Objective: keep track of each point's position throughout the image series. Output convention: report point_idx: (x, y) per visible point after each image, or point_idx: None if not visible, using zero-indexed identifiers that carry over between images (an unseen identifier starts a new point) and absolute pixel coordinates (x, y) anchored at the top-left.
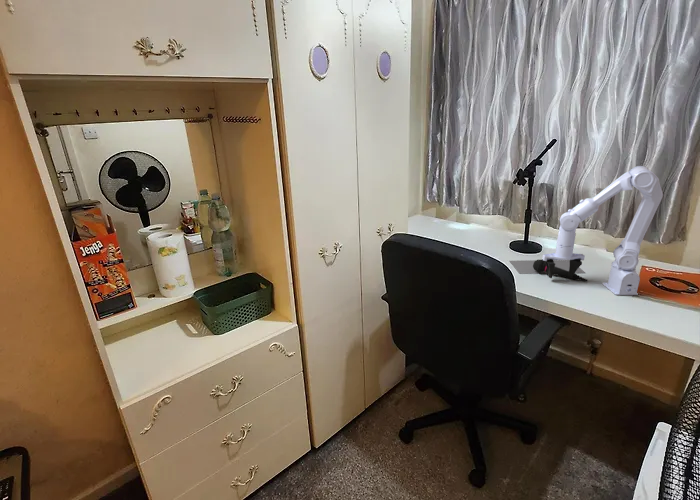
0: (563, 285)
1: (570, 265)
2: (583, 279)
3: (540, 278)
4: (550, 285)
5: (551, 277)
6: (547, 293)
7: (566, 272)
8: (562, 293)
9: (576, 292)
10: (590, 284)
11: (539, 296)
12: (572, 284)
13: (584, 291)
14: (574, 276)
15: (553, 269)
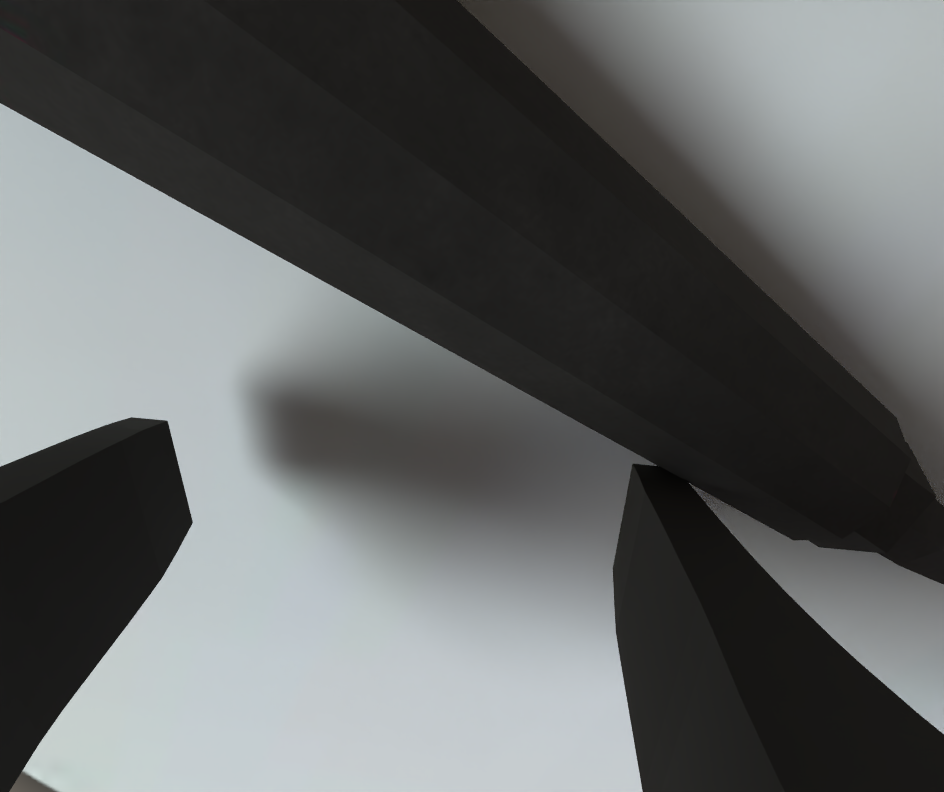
0: (408, 600)
1: (725, 771)
2: (916, 565)
3: (53, 289)
4: (198, 573)
5: (172, 539)
6: (120, 734)
7: (621, 432)
8: (301, 762)
9: (493, 774)
10: (926, 634)
11: (26, 765)
12: (584, 592)
13: (622, 774)
14: (760, 521)
15: (256, 237)
